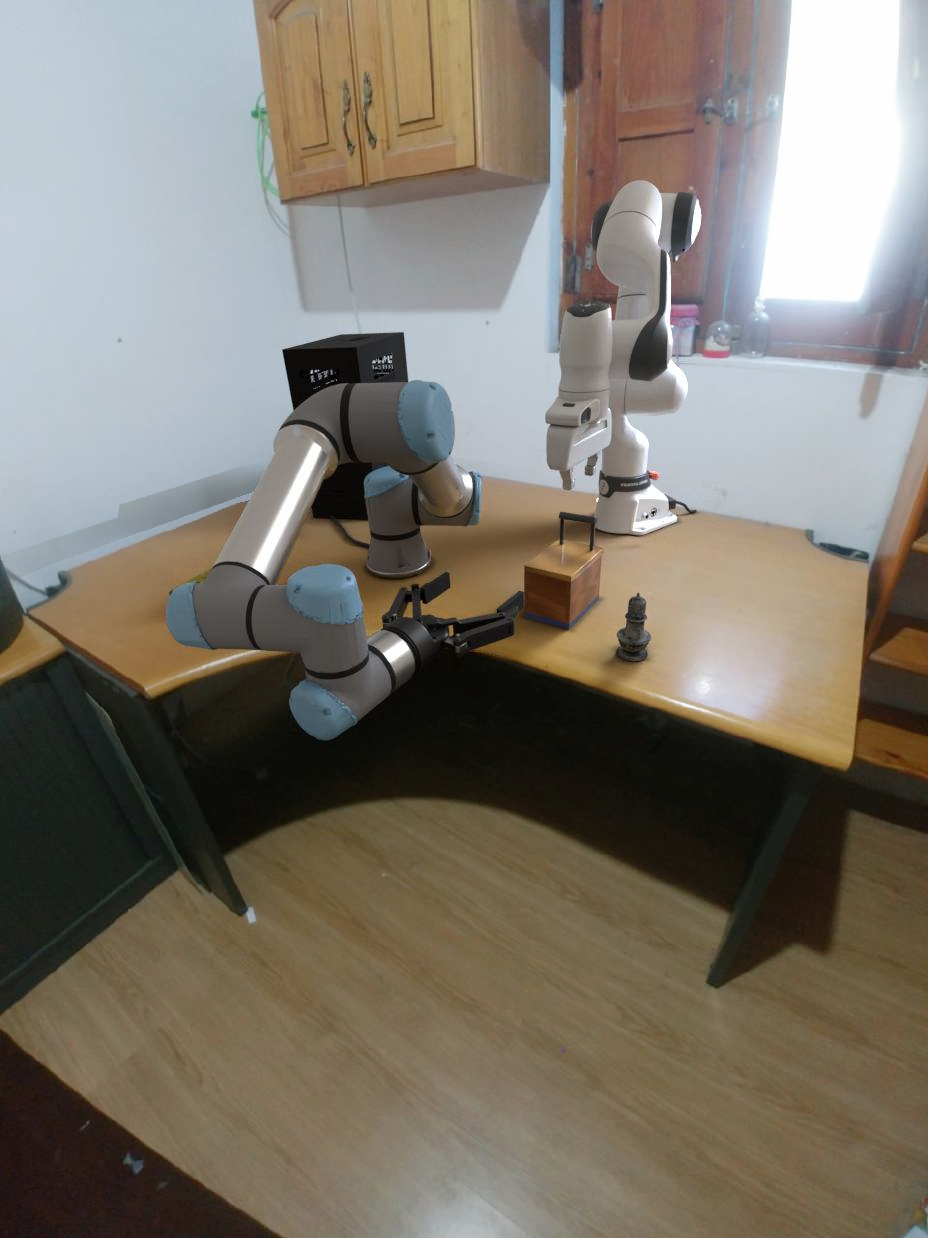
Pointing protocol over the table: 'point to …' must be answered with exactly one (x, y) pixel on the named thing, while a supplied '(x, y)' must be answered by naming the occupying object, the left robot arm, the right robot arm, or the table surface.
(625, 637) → the grey chess piece
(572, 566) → the lid
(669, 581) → the table surface
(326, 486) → the black computer case
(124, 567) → the table surface
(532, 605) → the chest
